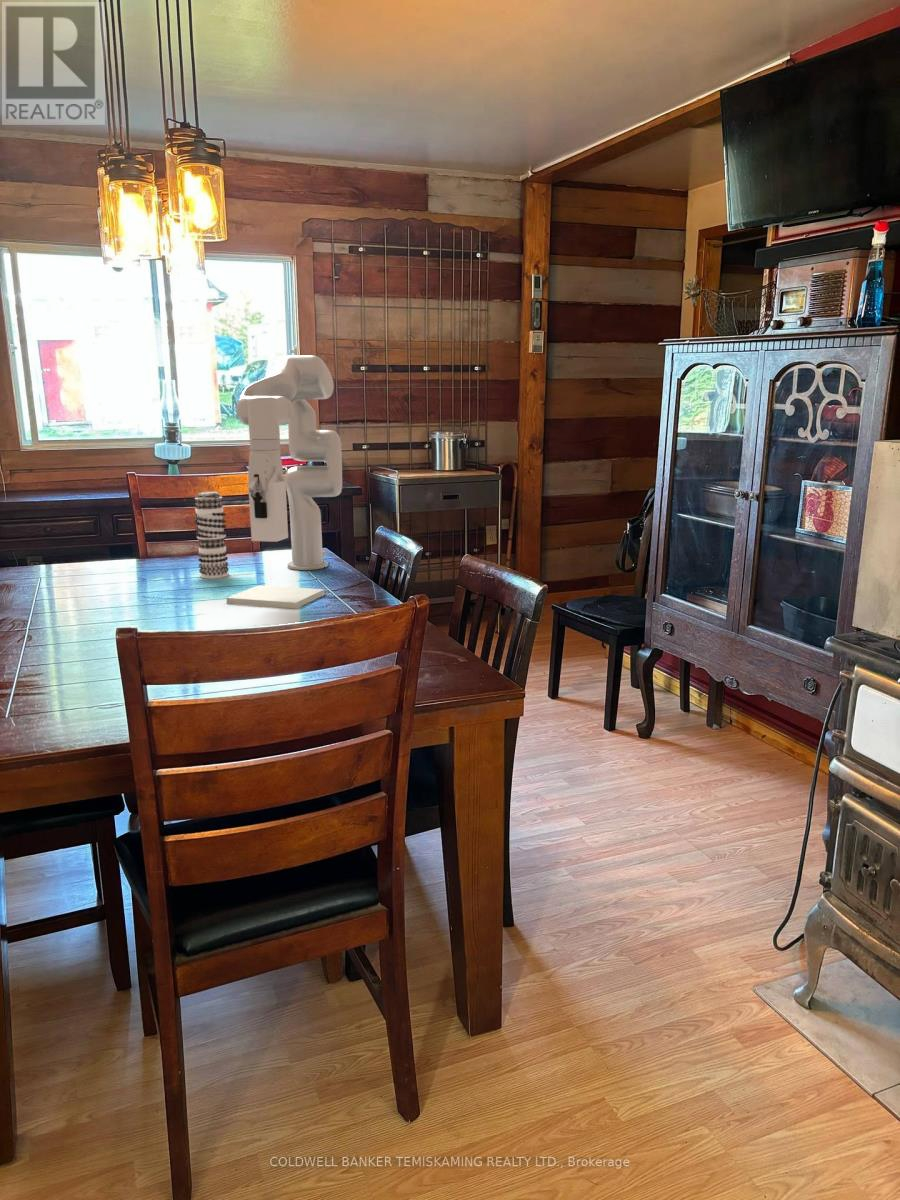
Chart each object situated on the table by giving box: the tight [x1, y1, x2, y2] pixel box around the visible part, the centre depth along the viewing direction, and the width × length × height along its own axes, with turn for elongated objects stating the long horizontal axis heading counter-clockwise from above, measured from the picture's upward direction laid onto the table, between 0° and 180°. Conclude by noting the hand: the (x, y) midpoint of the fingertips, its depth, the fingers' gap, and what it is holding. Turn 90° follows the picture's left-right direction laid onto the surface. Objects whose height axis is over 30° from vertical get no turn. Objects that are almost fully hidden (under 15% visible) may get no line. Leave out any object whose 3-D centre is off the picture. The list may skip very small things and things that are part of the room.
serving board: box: [226, 584, 325, 609], centre depth 216 cm, size 16×20×2 cm
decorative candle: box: [193, 491, 230, 579], centre depth 244 cm, size 9×9×25 cm
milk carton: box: [247, 466, 289, 543], centre depth 211 cm, size 7×7×19 cm
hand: (269, 515), depth 212 cm, fingers closed on milk carton, 7 cm apart
